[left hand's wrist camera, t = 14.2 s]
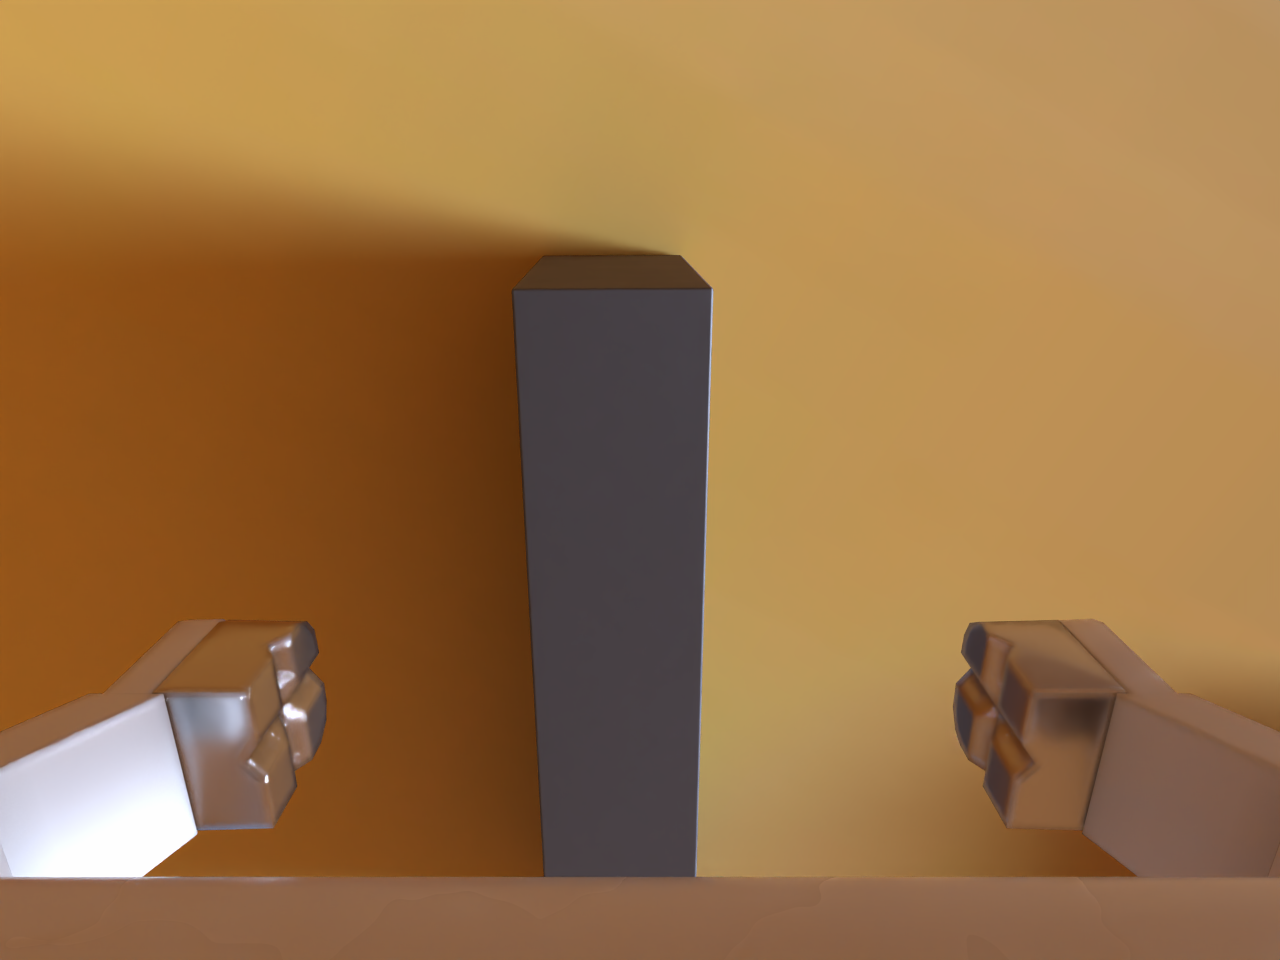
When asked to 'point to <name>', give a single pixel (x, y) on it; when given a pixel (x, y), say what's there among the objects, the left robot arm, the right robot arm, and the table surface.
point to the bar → (615, 554)
